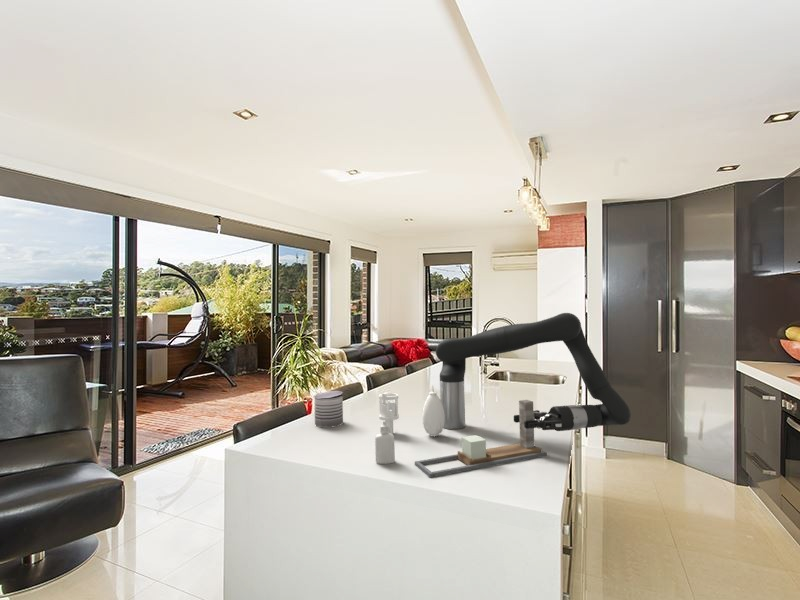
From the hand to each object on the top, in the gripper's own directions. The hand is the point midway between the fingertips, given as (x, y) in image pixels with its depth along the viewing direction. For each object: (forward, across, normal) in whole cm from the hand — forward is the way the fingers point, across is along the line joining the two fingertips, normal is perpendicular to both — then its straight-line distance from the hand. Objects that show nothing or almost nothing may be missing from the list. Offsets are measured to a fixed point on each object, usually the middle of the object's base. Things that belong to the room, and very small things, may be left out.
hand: (519, 421), depth 132 cm
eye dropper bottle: (+42, -3, +10) cm, 43 cm away
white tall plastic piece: (+35, -31, +10) cm, 48 cm away
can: (+56, -51, +10) cm, 76 cm away
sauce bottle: (+21, -23, +10) cm, 33 cm away
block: (+16, +3, +8) cm, 18 cm away
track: (+13, +3, +10) cm, 16 cm away
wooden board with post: (+7, +2, +10) cm, 12 cm away
